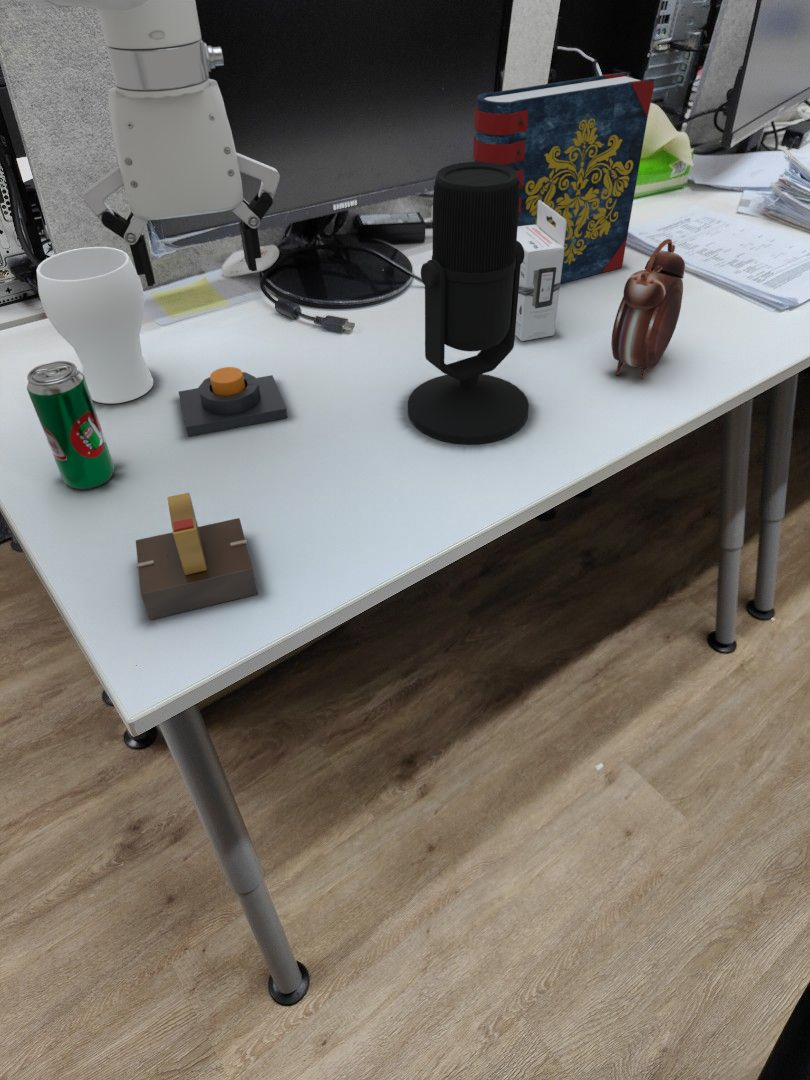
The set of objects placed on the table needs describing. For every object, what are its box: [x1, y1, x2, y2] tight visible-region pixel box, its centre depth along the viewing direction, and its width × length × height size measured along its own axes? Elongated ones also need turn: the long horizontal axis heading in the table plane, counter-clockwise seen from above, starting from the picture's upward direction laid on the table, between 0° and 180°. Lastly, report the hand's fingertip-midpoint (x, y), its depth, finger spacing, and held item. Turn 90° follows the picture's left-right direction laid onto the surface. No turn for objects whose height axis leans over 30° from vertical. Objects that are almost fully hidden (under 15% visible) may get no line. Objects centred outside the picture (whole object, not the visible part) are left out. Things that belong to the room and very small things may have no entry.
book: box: [472, 71, 655, 285], centre depth 104 cm, size 25×7×25 cm, turn 119°
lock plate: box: [135, 517, 259, 621], centre depth 65 cm, size 9×7×3 cm
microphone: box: [407, 161, 530, 445], centre depth 78 cm, size 14×14×25 cm
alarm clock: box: [610, 238, 686, 379], centre depth 87 cm, size 11×5×15 cm, turn 146°
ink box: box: [515, 200, 567, 342], centre depth 96 cm, size 8×5×15 cm, turn 17°
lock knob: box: [166, 492, 207, 575], centre depth 63 cm, size 5×2×5 cm, turn 18°
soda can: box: [26, 360, 115, 490], centre depth 74 cm, size 5×5×12 cm
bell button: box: [209, 366, 245, 396], centre depth 85 cm, size 4×4×2 cm
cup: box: [35, 246, 154, 404], centre depth 86 cm, size 11×11×15 cm
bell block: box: [178, 371, 288, 437], centre depth 86 cm, size 11×8×3 cm
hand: (201, 273), depth 74 cm, fingers open, 9 cm apart
